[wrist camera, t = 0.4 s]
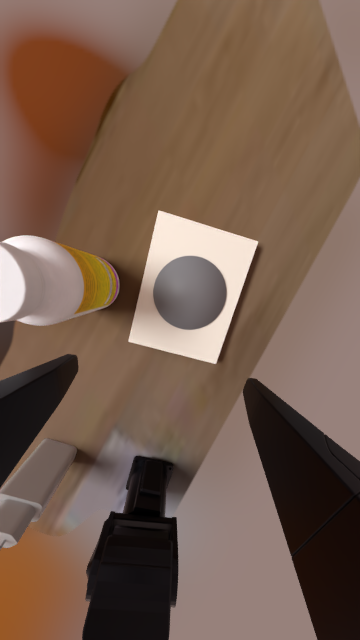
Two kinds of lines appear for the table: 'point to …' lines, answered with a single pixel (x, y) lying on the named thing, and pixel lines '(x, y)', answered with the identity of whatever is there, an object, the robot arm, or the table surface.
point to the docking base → (190, 287)
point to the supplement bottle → (51, 281)
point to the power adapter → (32, 488)
